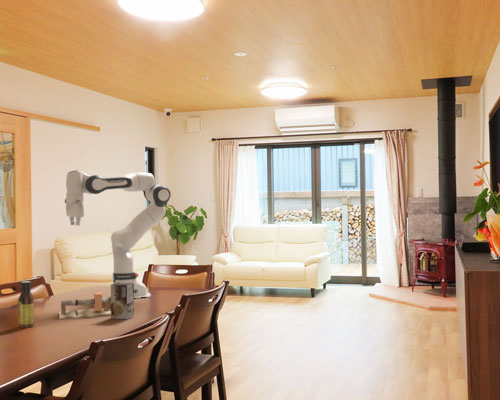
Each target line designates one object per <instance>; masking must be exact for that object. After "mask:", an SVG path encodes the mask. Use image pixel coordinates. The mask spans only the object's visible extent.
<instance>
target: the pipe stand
mask: <svg viewBox="0 0 500 400" xmlns="http://www.w3.org/2000/svg"><path fill="white" fill-rule="evenodd" d="M109 302H110V301H109V297H105V298H103V297H102V304H103V307H102V311H95V309H94V308H88V309H74V310H67V309H66V307H67V306H76V307H77V306H83V305H94V304H95V299H94V298H87V299H73V300H71V299H70V300H61V301H60V305H61V306H60V311H58V319H59V320H66V319H67V320H68V319H80V318H81V319H82V318H93V317H104V316H105V317H107V316H111V308H109Z"/></svg>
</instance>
